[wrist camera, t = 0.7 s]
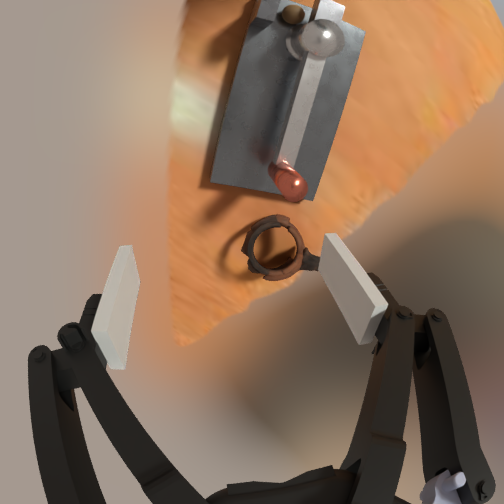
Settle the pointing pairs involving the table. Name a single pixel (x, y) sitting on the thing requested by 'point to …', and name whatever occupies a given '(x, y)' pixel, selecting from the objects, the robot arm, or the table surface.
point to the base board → (279, 102)
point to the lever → (305, 91)
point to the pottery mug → (290, 267)
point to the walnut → (293, 14)
